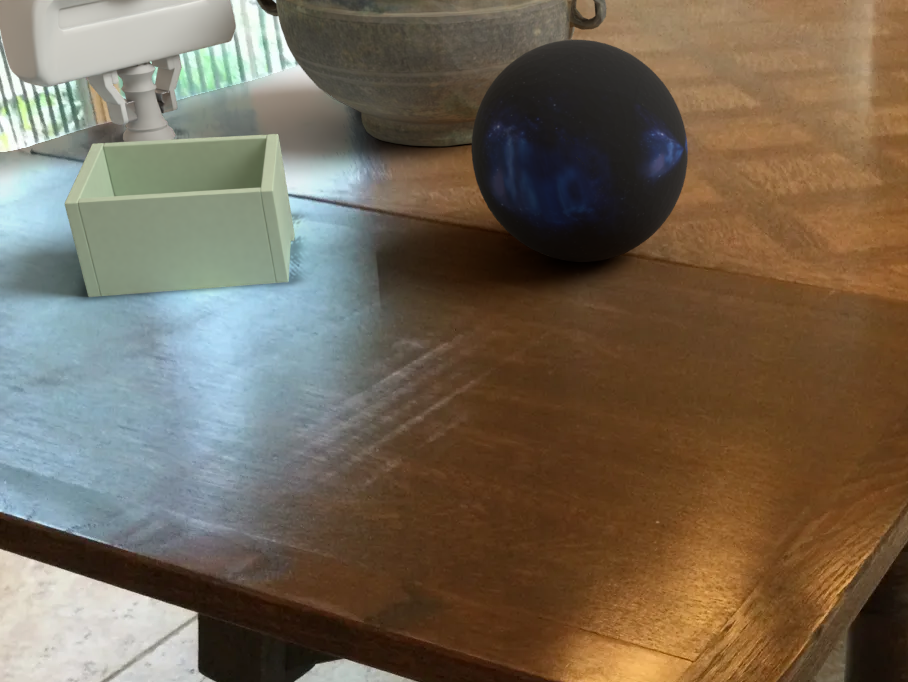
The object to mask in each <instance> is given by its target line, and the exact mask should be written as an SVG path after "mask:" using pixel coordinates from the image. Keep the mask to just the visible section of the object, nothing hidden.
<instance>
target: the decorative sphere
mask: <svg viewBox="0 0 908 682" xmlns="http://www.w3.org/2000/svg"><path fill="white" fill-rule="evenodd" d="M665 84H666V83H664V82H663V80H662V79H661V78H660V77H659V76H658V75H657V74H656V73H655V72H654V71H653V69H651V68H650V67H649V66H648V65H647V64H646V63H644V62H643V61H642V60H641V59H639V58H637V57H636V56H634V55H633V54H631V53H629V52H628V51H626V50H623V49H621V48H620V47H616V46H614V45H611V44H608V43H605V42H600V41H598V40H597V41H596V40H589V39H572V40H564V41H557V42H552V43H549V44H545V45H542V46H540V47H537V48H535V49H533V50H531V51H529V52H527V53H525V54H523V55H522V56H520V57H519V58H517V59H516V60H515V61H513V62H512V63H511V64H509V65H508V66H507V67H506V68H505V69H504V70H503V71H502V72H501V73H500V74H499V75H498V76H497V78H496V79H495V80H494V81H493V83H492V84H491V86H490V87H489V89H488V90H487V92H486V94H485V96H484V98H483V100H482V102H481V104H480V107H479V109H478V112H477V115H476V119H475V123H474V128H473V134H472V143H471V159H472V160H471V161H472V167H473V173H474V177H475V181H476V184H477V187H478V189H479V191H480V195H481V197H482V198H483V200H484V203H485V204H486V206H487V207H488V210H489V211H490V212H491V215H492V216H493V217H494V218H495V219H496V221H497V222H498V224H500V225H501V226H502V227H503V229H504V230H505V231H506V232H507V233H508V234H510V235H511V236H512V237H513V238H514V239H516V240H517V241H518V242H520V243H521V244H523V245H524V246H526V247H527V248H529V249H530V250H533V251H535V252H537V253H539V254H542V255H543V256H547V257H549V258H553V259H556V260H561V261H567V262H573V263H589V262H599V261H605V260H609V259H613V258H615V257H618V256H622V255H624V254H626V253H628V252H631V251H632V250H635V249H636V248H637V247H638V246H641V245H642V244H643V243H644V242H646V241H647V240H649V239H650V238H652V236H653V235H654V234H655V233H656V232H657V231H658V230H659V229H660V228H661V227H662V226H663V225H664V224H665V222H666V221H667V220H668V218H669V217H670V215H671V214H672V212H673V211H674V208H675V206H676V204H677V202H678V200H679V198H680V196H681V194H682V190H683V188H684V184H685V181H686V180H685V179H686V175H687V170H688V169H687V168H688V160H689V159H688V157H689V155H688V154H689V150H688V149H689V148H688V147H689V146H688V137H687V133H686V127H685V124H684V120H683V117H682V114H681V112H680V108H679V107H678V105H677V103H676V100H675V98H674V96H673V95H672V93H671V91H670V90H669V89H668V87H667V85H665Z"/></svg>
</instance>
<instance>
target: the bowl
mask: <svg viewBox="0 0 908 682" xmlns="http://www.w3.org/2000/svg"><path fill="white" fill-rule="evenodd" d="M577 1H578V0H275V1H274V0H256V2H257V4H258V5H259V7H260V9H262V10H263V11H264V12H265V13H266V14H267V15H269V16H273V17H278V22H279V25H280V28H281V31H282V34H283V36H284V37H283V38H284V39H285V42H286V45H287V47H288V50H289V51H290V53H291V55H292V56H293V58H294V59H295V61H296V63H297V64H298V65H299V67H300V68H301V70H302V71H303V72H304V73H305V74H306V75H307V77H308V78H309V80H311V81H312V82H313V83H314V84H315V86H316V87H317V88H318V89H320V90H321V91H323V92H324V93H325V94H327V95H328V96H329V97H330V98H332V99H333V100H335V101H337V102H339V103H341V104H343V105H344V106H347V107H349V108H351V109H353V110H355V111H358V112H359V113H361V114H360V115H361V123H362V125H363V127H364V129H365V132H366V133H367V134H369V135H370V136H371V137H373V138H374V139H377V140H380V141H382V142H387V143H391V144H398V145H403V146H416V147H451V146H458V145H468V144H472V134H473V128H474V123H475V119H476V115H477V112H478V109H479V107H480V104H481V102H482V100H483V98H484V96H485V94H486V92H487V90H488V89H489V87H490V86H491V84H492V83H493V81H494V80H495V79H496V78H497V76H498V75H499V74H500V73H501V72H502V71H503V70H504V69H505V68H506V67H507V66H508V65H509V64H511V63H512V62H513V61H515V60H516V59H517V58H519V57H520V56H522V55H523V54H525V53H527V52H529V51H531V50H533V49H535V48H537V47H540V46H542V45H545V44H549V43H552V42H557V41H564V40H573V37H574V33H575V29H578V30H580V31H581V30H582V31H584V30H585V31H587V30H594V29H596V28H599V27H600V26H601V24H602V23H603V22H604V21H605V19H606V17H607V9H608V7H607V2H606V0H592V1H593V2H594V16H593V17H592V18H586V17H584V16H583V15H582V14H581V12H580V11H579V10H578V9H577Z"/></svg>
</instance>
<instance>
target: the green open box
mask: <svg viewBox="0 0 908 682" xmlns="http://www.w3.org/2000/svg"><path fill="white" fill-rule="evenodd" d="M281 148H282V147H281V141H280V136H279V134H278V133H270V134H253V135H251V134H250V135H232V136H231V135H230V136H212V137H195V138H178V139H177V138H174V139H173V140H154V141H135V142H124V141H117V142H105V143H104V142H98V143H92V144H91V145H90V148H89V150H88V152H87V155H86V156H85V159H84V161H83V162H82V165H81V167H80V169H79V171H78V174H77V175H76V178H75V180H74V182H73V185H72V187H71V189H70V190H69V193H68V195H67V197H66V200H65V201H64V207H65V211H66V216H67V219H68V224H69V226H70V231H71V235H72V239H73V242H74V247H75V251H76V255H77V258H78V262H79V266H80V270H81V273H82V278H83V282H84V285H85V289H86V294H87V297H88V298H97V297H108V296H110V297H111V296H123V295H136V294H149V293H161V292H175V291H188V290H200V289H202V290H203V289H215V288H228V287H242V286H254V285H255V286H256V285H269V284H282V283H289V280H290V264H291V245H292V242H295V237H296V235H295V228H294V221H293V217H292V216H293V215H292V209H291V203H290V196H289V190H288V185H287V178H286V172H285V165H284V161H283V159H284V158H283V153H282V149H281Z"/></svg>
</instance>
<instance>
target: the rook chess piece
mask: <svg viewBox="0 0 908 682" xmlns="http://www.w3.org/2000/svg"><path fill="white" fill-rule="evenodd" d="M156 68H157V67H154V66H153V65H152V62H147V63H143V64H139V65H135V66H131V67H127V68H123V69H119V70H117V75H118V78H120V79H121V81H122V86H121V88H120V90H121V91H122V93H124V97H125V99H126V100H132V101H134V102H135V107H136V110H135V112H136V113H137V116H138V119H137V121H134V122H131V123H128V124H125V125H124V126H125V128H126V129H125V131H124V132H123V134H122V140H123V142H135V141H154V140H173V139H176V136H177V135H176V133H175V130H174V129H173V127H171V126H170V125H169V122H168V120H166V119H165V117H164V115H163V114H162V113H161V110H160V107H159V105H158V102H157V99H156V94H155V89H156V85H155V82H153V75H154V73H155V71H156Z"/></svg>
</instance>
